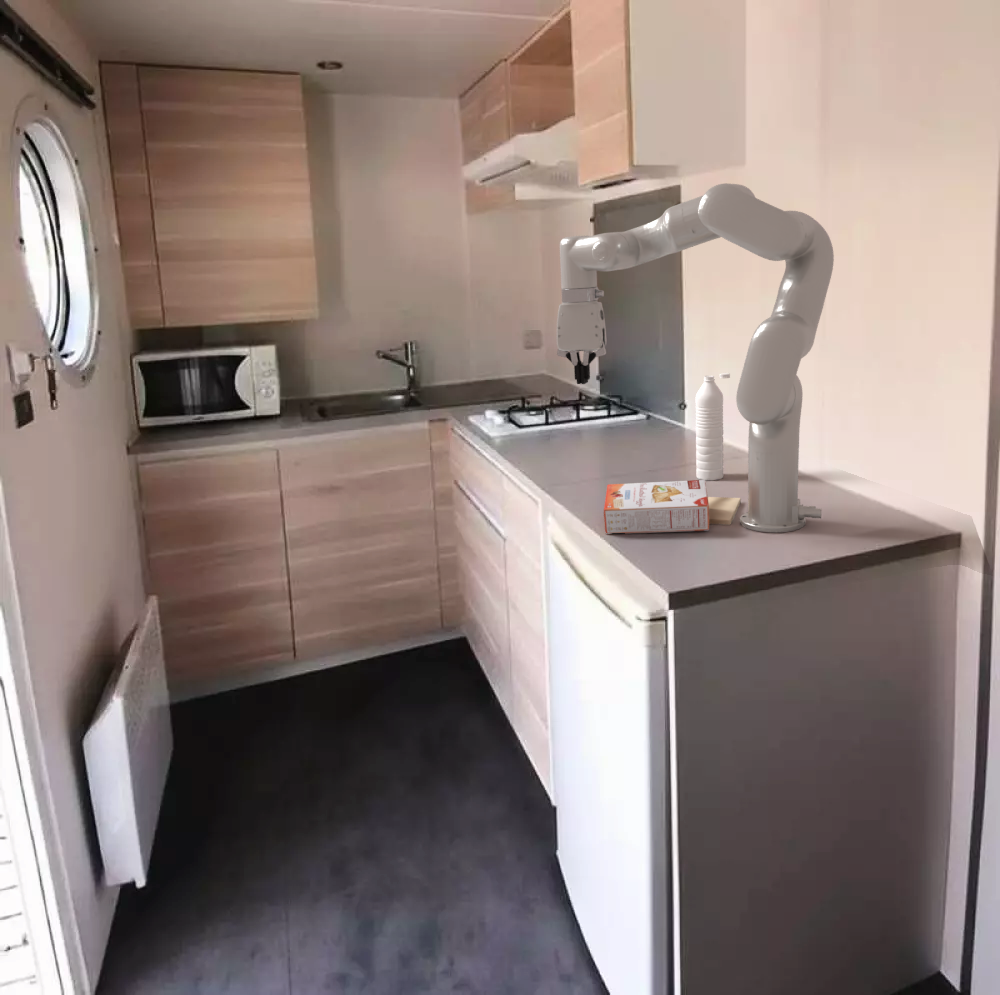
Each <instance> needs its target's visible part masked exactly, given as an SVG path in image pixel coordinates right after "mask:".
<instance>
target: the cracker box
mask: <svg viewBox="0 0 1000 995" xmlns="http://www.w3.org/2000/svg"><path fill="white" fill-rule="evenodd" d="M706 483H707V482H706V480H702V479H697V480H695V479H692V480H675V481H654V482H653V481H651V482H634V483H610V484H607V485H606V492H605V493H606V494H605V500H604V505H603V506H604V507H603V518H604V519H603V520H604V530H605V531H604V532H606V533H625V534H647V533H674V532H677V533H678V532H681V533H682V532H705V531H706V532H707V531H710V524H709V503H708V497H709V496H708V490H707V484H706ZM606 533H605V534H606Z"/></svg>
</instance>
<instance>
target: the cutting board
mask: <svg viewBox="0 0 1000 995" xmlns="http://www.w3.org/2000/svg"><path fill="white" fill-rule="evenodd" d="M741 500H742V499H741V497H724V496H722V497H720V496H719V497H718V496H708V503H709V525H711V524H712V525H727V526H728V525H729V526H730V525H731V524H732V523H733V520H734V518H735V515H736V513H737V511H738V509H739V507H740V505H741V503H742V502H741Z"/></svg>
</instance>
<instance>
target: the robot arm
mask: <svg viewBox="0 0 1000 995" xmlns="http://www.w3.org/2000/svg"><path fill="white" fill-rule="evenodd" d="M720 238H722V239H724V240H727V241H728V242H730V243H732V244H734V245H736V246H738V247H740V248H743V249H745V250H747V251H748V252H750V253H752V254H754V255H756V256H758V257H760V258H763V259H766V260H769V261H773V262H779V261H780V262H782V261H784V262H785V269H784V272H783V276H782V278H781V281H780V283H779V286H778V291H777V296H776V298H775V299H776V300H775V304H774V306H773V309H772V311H771V315H770V317H767V318H766V319H765V320H763V321H762V322H761V323H760V324H758V326H757V327H756V329H755V331H753V335H752V336H751V339H750V341H749V346H748V349H747V353H746V356H745V360H744V363H743V366H742V371H741V376H740V378H739V383H738V386H737V391H736V395H735V396H736V397H735V400H736V401H735V402H736V406H737V410H738V412H739V413H740V415H741V416H742V417H743V419H745V420H746V421H747V422H749V426H748V444H747V446H748V461H747V462H748V464H747V466H748V467H747V468H748V473H747V474H748V482H747V486H748V487H747V488H748V489H747V490H748V491H747V494H748V495H747V496H748V497H747V501H748V502H747V512H744V513H742V514H741V516H740V517H739V522H740V525H741V526H742V527H744V528H746V529H749V530H752V531H756V532H761V533H762V532H763V533H785V532H787V533H788V532H791V531H792V532H793V531H796V530H799V529H802V528H803V527H805V525H806V518H812V519H822V508H816V506H815V505H804V504H801V498H799V493H798V492H799V463H800V462H799V459H800V457H799V452H800V451H799V449H800V431H801V430H800V427H801V425H800V424H801V415H802V407H803V386H802V383H801V380H800V378H799V376H798V375H797V374H798V370H799V367H800V364H801V360H802V359H803V358H804V357H806V356H807V355H808V354H809V353H810V351H811V349H812V348H813V346H814V344H815V338H816V335H817V331H818V326H819V323H820V319H821V315H822V313H823V309H824V305H825V301H826V298H827V293H828V291H829V290H828V289H829V285H830V283H831V280H832V275H833V270H834V262H835V261H834V260H835V259H834V258H835V255H834V248H833V245H832V244H833V243H832V240H831V237H830V236H829V233H828V232H827V231H826V230H825V228H824V226H823V225H821V224H820V223H819V222H818V221H817V219H815V218H814V217H812V216H810V215H809V214H807V213H804V212H803V211H802V212H801V211H798V210H783V209H781V208H778V207H777V206H775V205H772V204H770V203H767V202H765V201H763V200H761V199H758V198H757V197H756V196H755V194H754V193H753V191H752V190H751V189H750V188H749V187H747V186H745V185H743V184H738V183H720V184H716V185H714V186H711V187H710V188H709V189H707V190H706V191H705V193H704V194H702V195H700V196H698V197H695V198H691V199H689V200H687V201H684V202H681V203H678V204H676V205H675V204H674V205H673V206H670V207H668V208H667V209H666V210H665V211H664V212H663V214H662V215H661V216H660V217H658V218H657V219H655V220H652V221H650V222H648V223H645V224H642V225H639V226H638V227H633V228H631V229H628V230H626V231H613V232H604V233H603V232H602V233H599V234H594V235H573V236H566V237H563V238H561V240H560V241H559V260H560V261H559V262H560V263H559V264H560V288H561V290H560V291H561V303H560V304H559V306H558V310H557V319H556V347H557V351H556V353H557V354H556V355H557V356H558V357H562V358H567V359H568V361H569V362H570V363H571V365H572V366H574V368H573V369H574V370H573V371H574V380H576V384H577V385H585V384H587V383H588V382H589V380H590V379H591V376H590V375H591V370H590V368H591V367H590V364H592V362H593V361H594V360H595V359H596V358H599V357H603V356H605V355H606V354H607V349H606V346H607V329H606V328H607V327H606V321H605V320H606V319H605V312H604V308H603V303H602V302H601V301H598V300H599V298H602V297H603V298H604V296H605V291H604V290H600V289H599V287H598V273H597V272H598V271H599V272H611V271H612V272H613V271H619V270H627V269H631V268H634V267H636V266H637V267H638V266H640V265H642V264H646V263H649V262H651V261H654V260H657V259H660V258H663V257H665V256H669V255H671V254H672V255H673V254H676V253H679V252H681V251H684V250H688V249H691V248H692V247H696V246H699V245H701V244H704V243H707V242H710V241H713V240H717V239H720ZM580 352H583V354H582V355H583V356H582V359H581V353H580Z"/></svg>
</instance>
